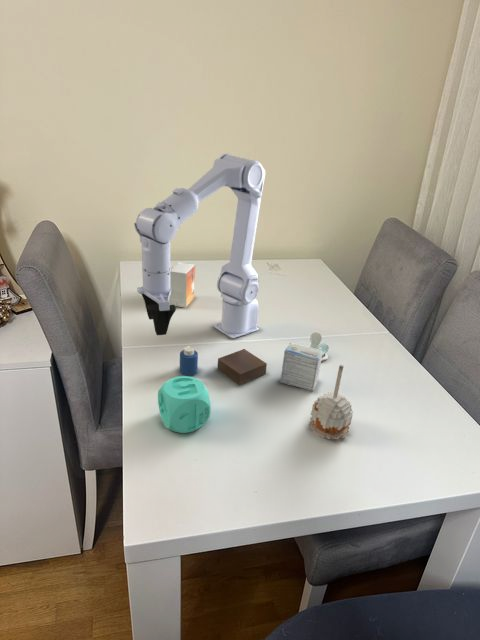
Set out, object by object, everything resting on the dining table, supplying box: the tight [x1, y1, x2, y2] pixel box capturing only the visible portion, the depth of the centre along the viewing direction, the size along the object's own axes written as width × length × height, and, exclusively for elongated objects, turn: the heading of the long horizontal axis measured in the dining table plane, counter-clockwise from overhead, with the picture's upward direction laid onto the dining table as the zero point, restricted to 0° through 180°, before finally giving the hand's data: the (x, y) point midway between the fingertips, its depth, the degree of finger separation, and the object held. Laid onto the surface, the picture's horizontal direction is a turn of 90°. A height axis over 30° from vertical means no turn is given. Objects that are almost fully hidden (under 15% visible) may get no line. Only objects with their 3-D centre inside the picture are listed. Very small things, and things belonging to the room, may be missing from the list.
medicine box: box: [280, 342, 323, 392], centre depth 110 cm, size 8×4×9 cm, turn 71°
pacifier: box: [309, 331, 329, 362], centre depth 121 cm, size 7×6×6 cm
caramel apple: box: [308, 364, 354, 440], centre depth 95 cm, size 8×8×15 cm
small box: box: [169, 261, 196, 308], centre depth 141 cm, size 8×6×10 cm
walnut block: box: [216, 348, 268, 386], centre depth 113 cm, size 8×8×3 cm
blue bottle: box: [179, 345, 199, 377], centre depth 110 cm, size 4×4×6 cm
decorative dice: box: [157, 375, 212, 434], centre depth 94 cm, size 8×8×8 cm
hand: (157, 326), depth 108 cm, fingers open, 7 cm apart
